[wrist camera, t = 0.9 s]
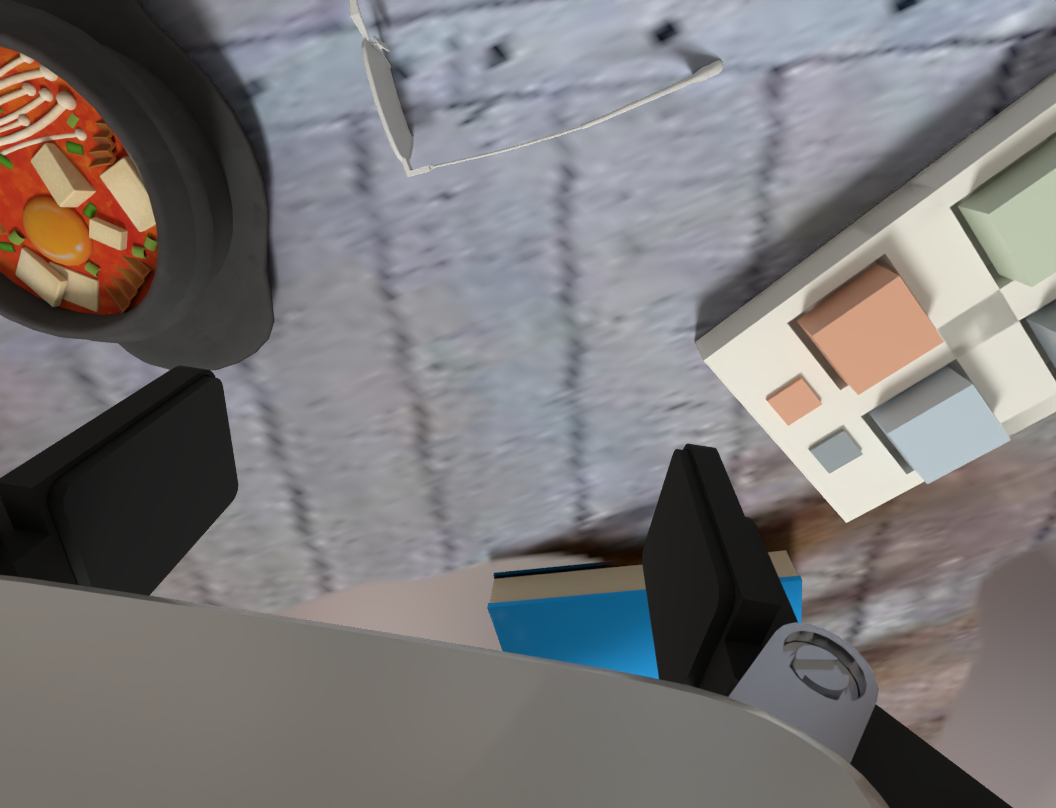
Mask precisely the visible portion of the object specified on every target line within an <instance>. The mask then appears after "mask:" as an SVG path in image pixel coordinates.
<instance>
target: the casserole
mask: <svg viewBox="0 0 1056 808" xmlns="http://www.w3.org/2000/svg"><path fill="white" fill-rule="evenodd" d="M268 222H269V210H268V204H267V198H266V192H265V186H264V180H263V177H262V174H261V171H260V168H259V165H258V162H257V159H256V156H255V153H254V150H253V147H252V145H251V143H250V141H249V139H248V137H247V135H246V133H245V131H244V129H243V127H242V125H241V123H240V121H239V120H238V118H237V116H236V114H235V112H234V110H233V109H232V108H231V106H230V105H229V103H228V102H227V101H226V99H225V98H224V96H223V95H222V94H221V92H220V91H219V89H218V88H217V87H216V85H215V84H214V82H213V81H212V80H211V78H210V77H209V76H208V75H207V74H206V73H205V72H204V71H203V70H202V69H201V68H200V67H199V66H198V65H197V64H196V63H195V62H194V61H193V60H192V59H191V58H190V57H189V56H188V55H187V54H186V53H185V52H184V51H183V50H182V49H181V48H180V47H179V46H178V45H177V44H176V43H175V42H174V41H173V40H172V39H171V38H170V37H169V36H168V35H167V34H166V33H165V32H164V31H163V30H162V29H161V28H160V26H159V25H158V24H157V23H156V22H155V21H154V20H153V19H152V18H151V17H150V16H149V14H148V13H147V12H146V10H145V9H144V8H143V6H142V5H141V4H140V2H139V1H138V0H0V315H2V316H4V317H5V318H7V319H9V320H12V321H14V322H16V323H19V324H21V325H23V326H26V327H28V328H30V329H33V330H35V331H39V332H43V333H47V334H50V335H54V336H58V337H64V338H75V339H87V340H91V341H99V342H110V343H119V344H120V345H121V346H122V347H123V348H124V349H125V350H126V351H127V352H129V353H130V354H132V355H134V356H135V357H137V358H138V359H140V360H142V361H143V362H146V363H148V364H151V365H155V366H158V367H162V368H166V369H169V370H171V369H173V368H174V367H177V366H188V367H194V368H201V369H207V370H218V369H221V368H224V367H227V366H230V365H233V364H236V363H239V362H241V361H242V360H244V359H246V358H247V357H249V356H251V355H252V354H254V353H256V352H257V351H258V350H259V349H260V348H261V347H262V346H263V344H264V343H265V342H266V341H267V340H268V339H269V337H270V334H271V330H272V327H273V324H274V313H273V304H272V296H271V290H270V285H269V279H268V273H267V252H268Z"/></svg>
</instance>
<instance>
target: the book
mask: <svg viewBox="0 0 1056 808" xmlns="http://www.w3.org/2000/svg"><path fill="white" fill-rule="evenodd" d="M768 554H769V556H770V558H771V561H772V563H773V565H774V567H775V570H776V572H777V574H778V577H779V579H780V581H781V584H782V586H783V588H784V590H785V593H786V595H787V597H788V600H789V602H790V604H791V607H792V609H793V611H794V613H795V616H796V618H797V620H798V623H801V608H802V579H801V577H800V576H798V575H797V573H796V571H795V569H794V566H793V564H792V562H791V560H790V558H789V556H788V554H787V552H786V551H776V552H768ZM493 576H494V583H493V589H492V594H491V600H490V603H488V611H489V613H490V617H491V619H492V622H493V625H494V628H495V630H496V633H497V636H498V639H499V642H500V645H501V647H502V650H503V651H504V652H510V653H516V654H522V655H528V656H534V657H540V658H547V659H553V660H558V661H564V662H569V663H575V664H580V665H586V666H592V667H598V668H604V669H610V670H615V671H621V672H626V673H631V674H636V675H642V676H646V677H651V678H655V679H659V676H658V669H657V662H656V655H655V648H654V642H653V635H652V628H651V621H650V614H649V607H648V600H647V593H646V587H645V580H644V573H643V566H642V565H633V566H623V567H613V566H610V565H608V564H603V563H599V562H597V563H587V564H577V565H567V566H558V567H547V568H537V569H526V570H516V571H506V572H496V573H494V575H493Z"/></svg>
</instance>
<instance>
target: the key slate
mask: <svg viewBox="0 0 1056 808" xmlns="http://www.w3.org/2000/svg"><path fill="white" fill-rule="evenodd" d="M1026 320H1027V322H1028V323H1029V325H1030V327H1031V328H1032V330H1033V332H1034V333H1035V335H1036V337H1037V338H1038V340H1039V341H1040V343H1041V345H1042V346H1043V348H1044V350H1045V351H1046V353H1047V355H1048V356H1049V358H1050V360H1051V361H1052V363H1053V365H1054V366H1055V368H1056V300H1055V301H1054V302H1052V303H1050V304H1049V305H1047V306H1045V307H1044V308H1042V309H1040V310H1039V311H1037V312H1035V313H1034V314H1032V315H1030V316H1029V317H1027V318H1026Z"/></svg>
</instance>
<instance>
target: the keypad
mask: <svg viewBox="0 0 1056 808" xmlns="http://www.w3.org/2000/svg"><path fill="white" fill-rule="evenodd" d="M1055 137H1056V71H1054V72H1053V73H1052V74H1050V75H1049V76H1048V77H1046V78H1045V79H1044V80H1043V81H1041V82H1040V83H1039V84H1037V85H1036V86H1035V87H1033V88H1032V89H1031V90H1029V91H1028V92H1027V93H1025V94H1024V95H1023V96H1021V97H1020V98H1019V99H1017V100H1016V101H1015V102H1013V103H1012V104H1011V105H1009V106H1008V107H1007V108H1005V109H1004V110H1003V111H1001V112H1000V113H999V114H997V115H996V116H995V117H993V118H992V119H991V120H989V121H988V122H987V123H985V124H984V125H983V126H981V127H980V128H979V129H977V130H976V131H975V132H973V133H972V134H971V135H969V136H968V137H967V138H965V139H964V140H963V141H961V142H960V143H959V144H957V145H956V146H955V147H954V148H952V149H951V150H950V151H948V152H947V153H946V154H944V155H943V156H942V157H940V158H939V159H938V160H936V161H935V162H934V163H932V164H931V165H930V166H928V167H927V168H926V169H924V170H923V171H922V172H920V173H919V174H918V175H916V176H915V177H914V178H912V179H911V180H910V181H908V182H907V183H906V184H904V185H903V186H902V187H900V188H899V189H898V190H896V191H895V192H894V193H892V194H891V195H890V196H888V197H887V198H886V199H884V200H883V201H882V202H880V203H879V204H878V205H876V206H875V207H874V208H872V209H871V210H870V211H868V212H867V213H866V214H864V215H863V216H862V217H861V218H859V219H858V220H857V221H855V222H854V223H853V224H851V225H850V226H849V227H847V228H846V229H845V230H843V231H842V232H841V233H839V234H838V235H837V236H835V237H834V238H833V239H831V240H830V241H829V242H827V243H826V244H825V245H823V246H822V247H821V248H819V249H818V250H817V251H815V252H814V253H813V254H811V255H810V256H809V257H807V258H806V259H805V260H803V261H802V262H801V263H799V264H798V265H797V266H795V267H794V268H793V269H791V270H790V271H789V272H787V273H786V274H785V275H783V276H782V277H781V278H779V279H778V280H777V281H775V282H774V283H773V284H771V285H770V286H769V287H768V288H766V289H765V290H764V291H762V292H761V293H760V294H758V295H757V296H756V297H754V298H753V299H752V300H750V301H749V302H748V303H746V304H745V305H744V306H742V307H741V308H740V309H738V310H737V311H736V312H734V313H733V314H732V315H730V316H729V317H728V318H726V319H725V320H724V321H722V322H721V323H720V324H718V325H717V326H716V327H714V328H713V329H712V330H710V331H709V332H708V333H706V334H705V335H704V336H702V337H701V338H700V339H698V340H697V341H696V342H695V344H696V346H697V348H698V350H699V352H700V354H701V356H702V358H703V360H704V362H705V363H706V364H707V365H708V366H709V367H710V368H711V369H712V371H713V372H714V373H715V374H716V375H717V376H718V377H719V379H720V380H721V381H722V382H723V383H724V384H725V385H726V387H727V388H728V389H729V390H730V391H731V392H732V393H733V394H734V396H735V397H736V398H737V399H738V400H739V401H740V402H741V404H742V405H743V406H744V407H745V408H746V409H747V410H748V412H749V413H750V414H751V415H752V416H753V417H754V418H755V420H756V421H757V422H758V423H759V424H760V425H761V426H762V427H763V429H764V430H765V431H766V432H767V433H768V434H769V435H770V437H771V438H772V439H773V440H774V441H775V442H776V443H777V445H778V446H779V447H780V448H781V449H782V450H783V451H784V452H785V454H786V455H787V456H788V457H789V458H790V459H791V460H792V462H793V463H794V464H795V465H796V466H797V467H798V468H799V470H800V471H801V472H802V473H803V474H804V475H805V476H806V478H807V479H808V480H809V481H810V482H811V483H812V484H813V485H814V487H815V488H816V489H817V490H818V491H819V492H820V493H821V495H822V496H823V497H824V498H825V499H826V500H827V501H828V503H829V504H830V505H831V506H832V507H833V508H834V509H835V510H836V512H837V513H838V514H839V515H840V516H841V517H842V518H843V520H844V521H845V522H846V523H847V522H849V521H851V520H853V519H854V518H856V517H858V516H860V515H862V514H864V513H866V512H868V511H870V510H871V509H873V508H875V507H877V506H879V505H881V504H883V503H885V502H886V501H888V500H890V499H892V498H894V497H896V496H898V495H900V494H902V493H903V492H905V491H907V490H909V489H911V488H913V487H915V486H917V485H919V484H920V483H922V482H924V480H923V479H922V478H921V477H920V476H919V475H918V474H917V472H916V471H915V470H914V469H913V468H912V467H911V466H910V465H909V464H908V463H907V462H906V460H905V459H904V458H903V457H902V455H901V454H900V453H899V451H898V450H897V449H896V448H895V446H894V445H893V444H892V442H891V441H890V440H889V439H888V437H887V436H886V435H885V434H884V432H883V431H882V430H881V428H880V427H879V426H878V425H877V423H876V422H875V421H874V419H873V418H872V417H871V416H870V414H869V413H870V412H871V411H873V410H875V409H876V408H878V407H880V406H881V405H883V404H885V403H886V402H888V401H890V400H891V399H893V398H895V397H896V396H898V395H900V394H901V393H903V392H904V391H906V390H908V389H909V388H911V387H913V386H914V385H916V384H918V383H919V382H921V381H923V380H924V379H926V378H928V377H929V376H931V375H933V374H934V373H936V372H938V371H939V370H941V369H943V368H944V367H946V366H948V367H949V368H951V369H952V370H954V371H955V372H956V373H958V374H959V375H961V376H962V377H964V378H965V379H966V380H968V381H969V382H971V383H972V384H973V385H974V386H975V388H976V389H977V391H978V392H979V394H980V395H981V397H982V398H983V400H984V401H985V403H986V404H987V405H988V407H989V408H990V410H991V411H992V413H993V414H994V416H995V417H996V419H997V420H998V422H999V423H1000V425H1001V426H1002V428H1003V429H1004V431H1005V432H1006V434H1007V435H1008V436H1011V435H1013V434H1015V433H1016V432H1018V431H1020V430H1022V429H1024V428H1026V427H1028V426H1030V425H1031V424H1033V423H1035V422H1037V421H1039V420H1041V419H1043V418H1045V417H1047V416H1048V415H1050V414H1052V413H1054V412H1056V368H1055V366H1054V365H1053V363H1052V361H1051V360H1050V358H1049V356H1048V355H1047V353H1046V351H1045V350H1044V348H1043V346H1042V345H1041V343H1040V341H1039V340H1038V338H1037V337H1036V335H1035V333H1034V332H1033V330H1032V328H1031V327H1030V325H1029V323H1028V322H1027V320H1026V318H1027V317H1029V316H1030V315H1032V314H1034V313H1035V312H1037V311H1039V310H1040V309H1042V308H1044V307H1045V306H1047V305H1049V304H1050V303H1052V302H1054V301H1055V300H1056V273H1054V274H1052V275H1051V276H1049V277H1048V278H1046V279H1044V280H1043V281H1041V282H1039V283H1038V284H1036V285H1035V286H1033V287H1030V286H1027V285H1025V284H1022V283H1020V282H1017V281H1014V280H1012V279H1009V278H1007V277H1004V276H1002V275H999V274H998V272H997V270H996V269H995V267H994V265H993V264H992V262H991V260H990V259H989V257H988V255H987V254H986V252H985V250H984V249H983V247H982V245H981V244H980V242H979V240H978V239H977V237H976V235H975V234H974V232H973V230H972V229H971V227H970V225H969V224H968V222H967V220H966V219H965V217H964V215H963V214H962V212H961V211H960V209H959V207H958V206H959V205H960V204H962V203H963V202H964V201H966V200H967V199H969V198H970V197H971V196H973V195H974V194H976V193H977V192H979V191H980V190H981V189H983V188H984V187H986V186H987V185H988V184H990V183H991V182H993V181H994V180H995V179H997V178H998V177H1000V176H1001V175H1002V174H1004V173H1005V172H1007V171H1008V170H1010V169H1011V168H1012V167H1014V166H1015V165H1017V164H1018V163H1019V162H1021V161H1022V160H1024V159H1025V158H1026V157H1028V156H1029V155H1031V154H1032V153H1033V152H1035V151H1036V150H1038V149H1039V148H1041V147H1042V146H1043V145H1045V144H1046V143H1048V142H1049V141H1050V140H1052V139H1053V138H1055ZM876 264H878V265H880V266H882V267H884V268H886V269H888V270H889V271H891V272H893V273H895V274H897V275H899V276H900V277H901V279H902V280H903V282H904V283H905V284H906V286H907V287H908V289H909V290H910V292H911V293H912V295H913V296H914V298H915V299H916V301H917V302H918V304H919V305H920V307H921V308H922V310H923V311H924V313H925V314H926V315H927V317H928V318H929V320H930V321H931V323H932V324H933V326H934V327H935V329H936V330H937V332H938V333H939V335H940V336H941V338H942V339H943V341H944V342H943V343H941V344H940V345H938V346H936V347H935V348H933V349H932V350H930V351H928V352H927V353H925V354H924V355H922V356H920V357H919V358H917V359H916V360H914V361H912V362H911V363H909V364H908V365H906V366H904V367H903V368H901V369H899V370H898V371H896V372H895V373H893V374H891V375H890V376H888V377H887V378H885V379H883V380H882V381H880V382H879V383H877V384H875V385H874V386H872V387H871V388H869V389H867V390H866V391H864V392H862V393H861V394H859V395H858V394H857V393H856V392H855V391H854V390H853V389H852V388H851V387H850V386H849V385H848V384H847V383H846V382H845V381H844V380H843V379H842V378H841V377H840V376H839V375H838V373H837V372H836V371H835V369H834V368H833V367H832V366H831V364H830V363H829V362H828V361H827V359H826V358H825V357H824V355H823V354H822V353H821V352H820V350H819V349H818V348H817V346H816V345H815V344H814V343H813V341H812V340H811V339H810V337H809V336H808V335H807V334H806V332H805V331H804V330H803V329H802V327H801V326H800V325H799V323H798V322H797V320H798V319H800V318H801V317H802V316H804V315H805V314H807V313H808V312H809V311H811V310H812V309H814V308H815V307H816V306H818V305H819V304H821V303H822V302H824V301H825V300H826V299H828V298H829V297H831V296H832V295H833V294H835V293H836V292H838V291H839V290H840V289H842V288H843V287H845V286H846V285H847V284H849V283H850V282H852V281H853V280H855V279H856V278H857V277H859V276H860V275H862V274H863V273H864V272H866V271H867V270H869V269H870V268H871V267H873V266H874V265H876Z"/></svg>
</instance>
